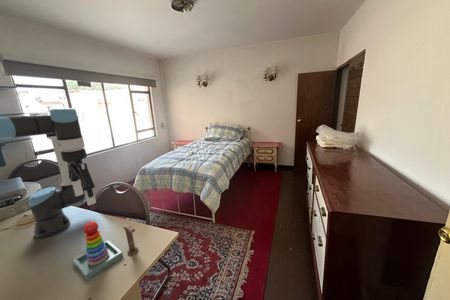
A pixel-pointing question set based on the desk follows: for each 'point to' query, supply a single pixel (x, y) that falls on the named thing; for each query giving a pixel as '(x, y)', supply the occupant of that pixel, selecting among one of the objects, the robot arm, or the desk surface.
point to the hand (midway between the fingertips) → (85, 199)
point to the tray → (93, 270)
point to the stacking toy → (94, 245)
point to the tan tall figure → (130, 239)
